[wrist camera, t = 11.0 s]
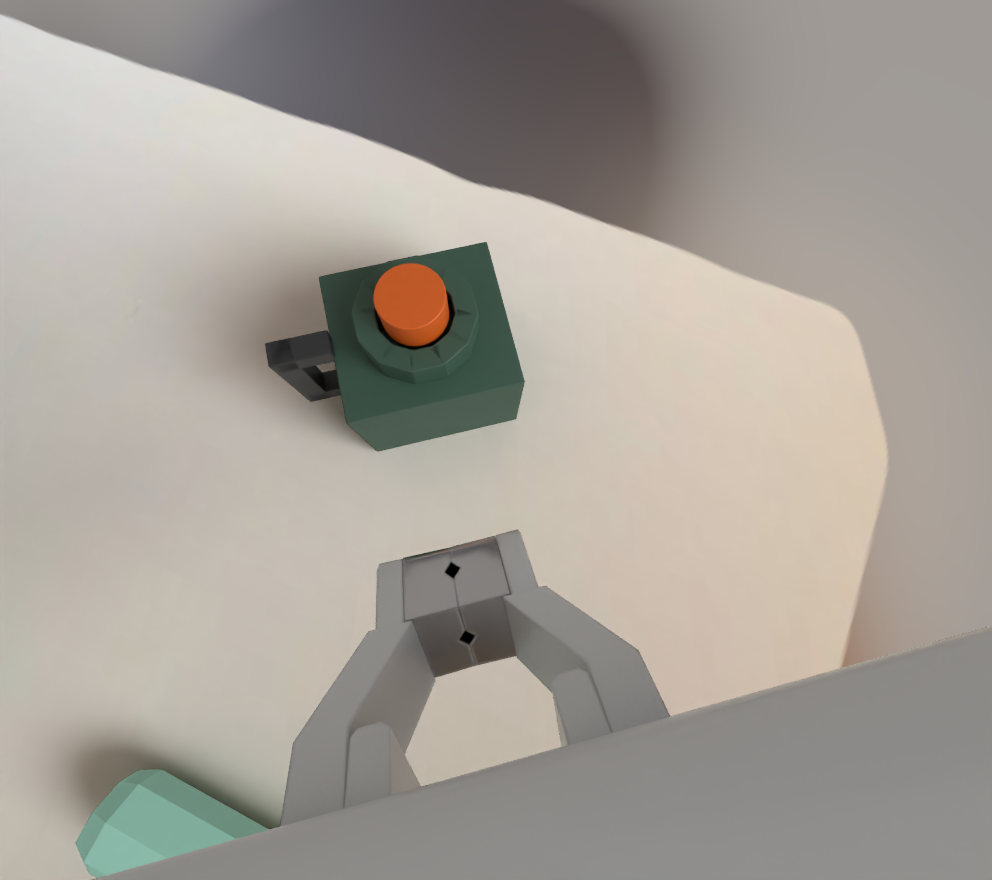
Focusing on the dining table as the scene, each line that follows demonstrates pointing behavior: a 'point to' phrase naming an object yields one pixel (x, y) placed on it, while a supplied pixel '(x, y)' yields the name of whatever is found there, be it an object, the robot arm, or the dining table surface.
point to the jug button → (412, 304)
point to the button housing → (424, 354)
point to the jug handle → (305, 364)
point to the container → (155, 823)
